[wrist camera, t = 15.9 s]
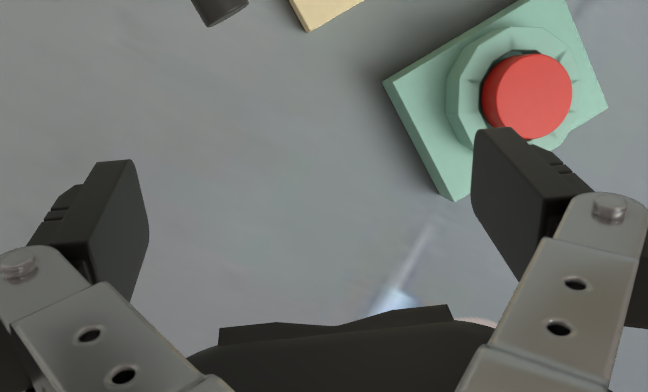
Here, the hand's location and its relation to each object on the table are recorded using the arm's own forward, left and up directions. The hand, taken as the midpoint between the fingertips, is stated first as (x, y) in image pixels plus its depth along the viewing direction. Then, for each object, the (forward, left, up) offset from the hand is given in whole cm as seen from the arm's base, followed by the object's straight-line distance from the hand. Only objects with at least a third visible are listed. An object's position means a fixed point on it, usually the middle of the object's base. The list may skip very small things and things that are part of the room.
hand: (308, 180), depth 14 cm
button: (-3, +14, -16) cm, 22 cm away
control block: (-3, +14, -20) cm, 25 cm away
